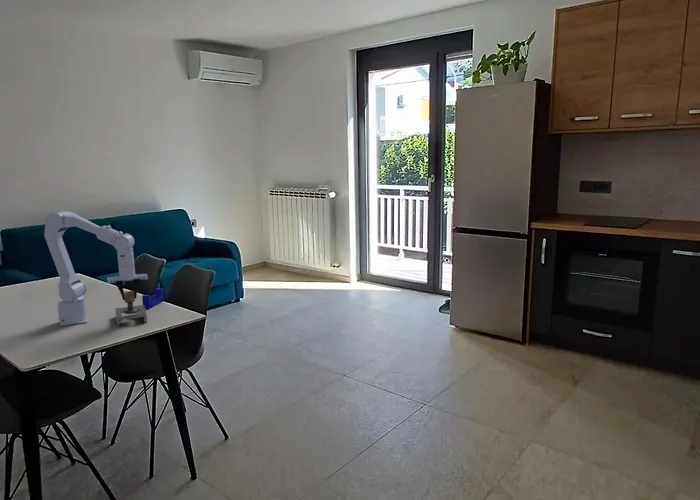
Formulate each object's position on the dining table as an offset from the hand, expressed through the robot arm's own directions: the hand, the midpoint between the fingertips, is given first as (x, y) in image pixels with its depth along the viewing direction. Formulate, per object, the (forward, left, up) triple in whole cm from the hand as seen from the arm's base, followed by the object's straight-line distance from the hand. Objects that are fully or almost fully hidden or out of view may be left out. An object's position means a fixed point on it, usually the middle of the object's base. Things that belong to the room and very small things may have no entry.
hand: (129, 298), depth 201 cm
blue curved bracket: (+9, +20, -10) cm, 24 cm away
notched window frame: (0, +2, -9) cm, 9 cm away
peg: (0, 0, -6) cm, 6 cm away
